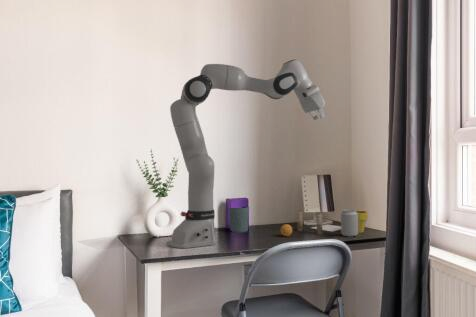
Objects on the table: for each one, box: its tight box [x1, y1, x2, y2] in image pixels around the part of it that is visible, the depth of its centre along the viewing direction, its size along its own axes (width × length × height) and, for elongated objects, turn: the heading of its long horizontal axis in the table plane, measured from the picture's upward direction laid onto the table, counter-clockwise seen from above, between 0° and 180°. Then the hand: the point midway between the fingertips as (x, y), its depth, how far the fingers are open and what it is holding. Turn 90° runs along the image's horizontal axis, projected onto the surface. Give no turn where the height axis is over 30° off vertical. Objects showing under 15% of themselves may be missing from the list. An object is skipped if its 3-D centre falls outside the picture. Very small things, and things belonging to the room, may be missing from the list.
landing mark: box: [310, 224, 341, 232], centre depth 237 cm, size 14×14×1 cm
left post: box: [296, 211, 304, 232], centre depth 232 cm, size 3×3×9 cm
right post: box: [316, 213, 323, 235], centre depth 223 cm, size 3×3×9 cm
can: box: [340, 208, 359, 238], centre depth 216 cm, size 8×8×12 cm
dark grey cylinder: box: [228, 205, 250, 233], centre depth 234 cm, size 10×10×12 cm
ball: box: [280, 224, 293, 237], centre depth 217 cm, size 6×6×6 cm
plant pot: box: [355, 209, 369, 234], centre depth 226 cm, size 10×10×10 cm
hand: (319, 118), depth 216 cm, fingers open, 8 cm apart
